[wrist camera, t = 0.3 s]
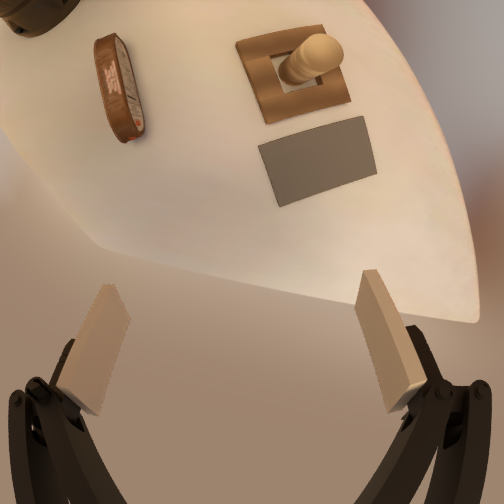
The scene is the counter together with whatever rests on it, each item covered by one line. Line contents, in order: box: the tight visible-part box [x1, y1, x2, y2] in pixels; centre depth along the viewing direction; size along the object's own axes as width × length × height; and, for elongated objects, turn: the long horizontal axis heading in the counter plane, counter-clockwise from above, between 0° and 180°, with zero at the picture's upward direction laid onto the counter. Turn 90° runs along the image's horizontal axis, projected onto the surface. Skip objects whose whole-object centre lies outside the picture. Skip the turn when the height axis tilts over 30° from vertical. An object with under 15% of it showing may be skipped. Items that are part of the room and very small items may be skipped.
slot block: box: [235, 24, 351, 124], centre depth 30 cm, size 12×12×2 cm
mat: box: [258, 116, 377, 207], centre depth 36 cm, size 9×16×1 cm, turn 110°
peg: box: [278, 33, 344, 86], centre depth 26 cm, size 4×4×12 cm
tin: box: [94, 33, 145, 143], centre depth 26 cm, size 15×3×8 cm, turn 13°
